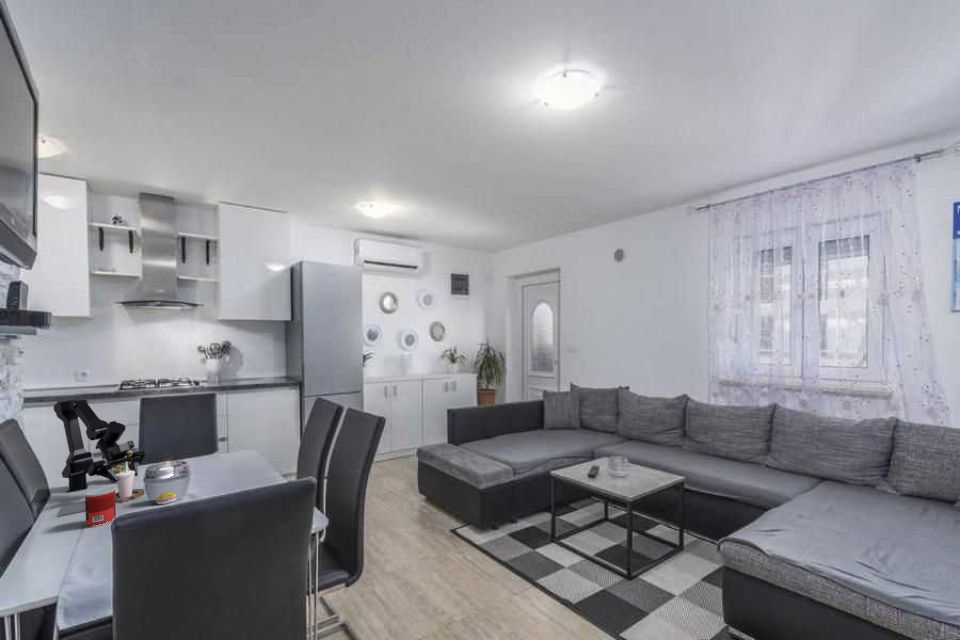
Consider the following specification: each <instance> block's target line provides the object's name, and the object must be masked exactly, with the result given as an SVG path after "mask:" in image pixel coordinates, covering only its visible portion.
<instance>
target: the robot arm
mask: <svg viewBox="0 0 960 640" xmlns="http://www.w3.org/2000/svg"><path fill="white" fill-rule="evenodd" d="M53 411H54V412H55V414H56V417H57V418H58V419H59V420H61V421H62V422H63V427H64V432H65V437H66V438H65V439H66V443H67V447H68V452H69V454H68V457H67V458H66V460H65V463H66V465H65V466H64V468H63V470H62V471H61V475H62V478H64V479H68V489H67V490H66V493H71V492H76V491H81V490H87V489H88V487H89V483H87V480H88V479H87V475H88V476H89V477H94V476H97V477H103V478H106V479H110V480H112V481H111V482H117V481H118V479H117V477H116V475H115V473H114V472H113V470H112V468H111V466H115V465H119V464H122V463H126V462H128V463H129V464H130V465H129V466H128V467H129V469H130V470H131V471H135V474H134V475H135V476H134V477H138V475H139V466H138V465H139V464H141V463H142V462H143V460H144V459H145V457H146V455H147V452H146V451H145V450H144V449H141V450H137V451H132V455H131V456H130V457H125V456H126V455H127V454H128V453H127V452H128V451H129V450H132V449H134V448H135V447H136V445H135V443H134V441H133V440H128V441H126V442H125V443H121V444H120V443H119V444H118V441H119V440H120V439H121V437H122V436H123V435H124V432H125V431H126V429H127V428H126V425H125V424H123V423H121V422H117V421H116V420H113V421H109V422H107V421H106V420H102V419H100V418H99V416H98V415H97V414H96V412H95V411H94V410H93V409H92V407H91V406H90V405H89V401H88V399H84V398H82V399H81V398H80V399H77V398H73V399H66V400H59V401H57V402H56V404H54V405H53ZM79 419H80V420H81V422H82V424H84V426H85V427H86V430H85V434H86V437H87V438H88V439H89V440H90V441H96V440H98V441H97V442H96V445H95V449H96V450H99V451H100V452H101V454H102V455H101V460H100V459H99V460H97V461H94V458H93V456H92V455H93V454H92V451H88V450H86V449H85V445H84V441H83V436H82V431H81V426H80V422H79V421H80V420H79ZM110 480H109V481H110Z"/></svg>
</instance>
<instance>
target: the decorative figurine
mask: <svg viewBox="0 0 960 640" xmlns="http://www.w3.org/2000/svg"><path fill="white" fill-rule="evenodd" d="M127 453H128V454H127V455H126V456H125V457H130V456H131V455H132V453H133V450H132V449H131V450H129V451H128V452H127ZM129 465H130V464H129V463H128V462H127V468H128V471H131V470H130V469H129V467H128V466H129ZM111 468H112V470H113V472H114V473H115V475H116V474H118V473H120V472H125V471H126V463H122V464H119V465H115V466H111ZM134 477H136V476H135V475H134ZM109 481H110V482H113V481H112V480H110V479H109Z"/></svg>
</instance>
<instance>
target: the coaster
mask: <svg viewBox="0 0 960 640" xmlns="http://www.w3.org/2000/svg"><path fill="white" fill-rule="evenodd" d="M83 512H86V511H85V500H84V501H80V502H76V503H70V504H65V505H62V507H61V509H60V511H59V513H58V515H57V517H58V516H61V517H65V516H64V515H66V516H69V515H74V514H79V513H83Z"/></svg>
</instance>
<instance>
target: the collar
mask: <svg viewBox="0 0 960 640" xmlns="http://www.w3.org/2000/svg"><path fill="white" fill-rule="evenodd" d="M144 495H145V489H144V488H133V489H132V496H129V497H124V498H120V496H119V491H117V492H115V497H116V496H118V497H116V498H115V500H116V502H117V503H118V502H119V503H121V504H123V503H128V502H129V501H132V500H136V499H137V498H140V497H142V496H144Z"/></svg>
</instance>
